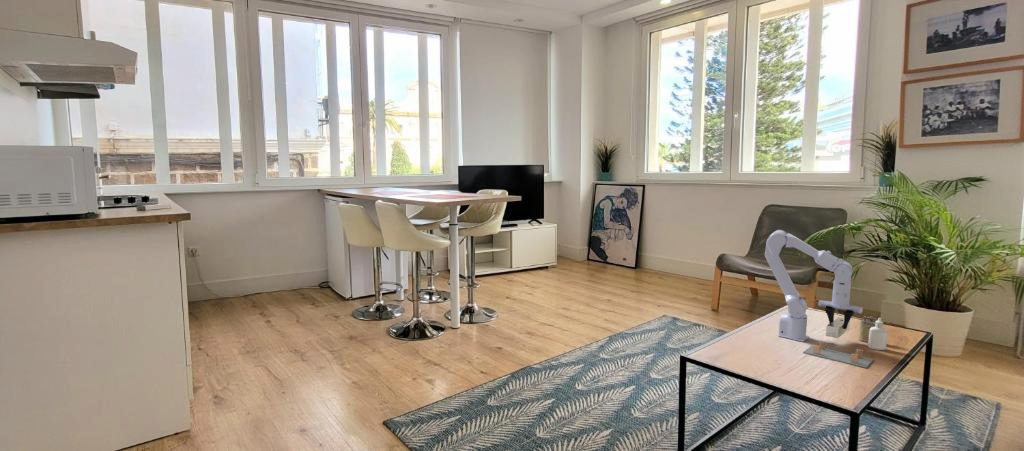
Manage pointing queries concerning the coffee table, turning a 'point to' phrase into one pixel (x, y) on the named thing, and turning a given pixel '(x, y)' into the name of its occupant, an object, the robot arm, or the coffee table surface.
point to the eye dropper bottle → (878, 336)
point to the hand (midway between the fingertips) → (838, 327)
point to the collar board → (839, 355)
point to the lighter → (866, 328)
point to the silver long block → (836, 328)
